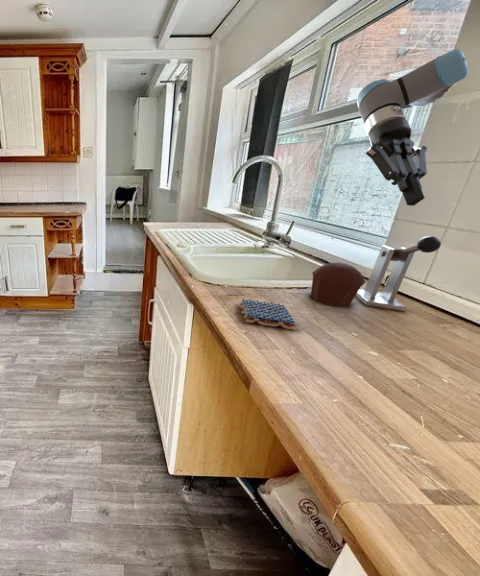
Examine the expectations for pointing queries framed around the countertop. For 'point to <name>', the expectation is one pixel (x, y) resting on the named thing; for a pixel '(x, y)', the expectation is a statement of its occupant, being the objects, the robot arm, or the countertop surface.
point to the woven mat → (267, 314)
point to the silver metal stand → (393, 283)
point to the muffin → (336, 284)
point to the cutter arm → (418, 247)
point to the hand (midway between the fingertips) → (415, 201)
